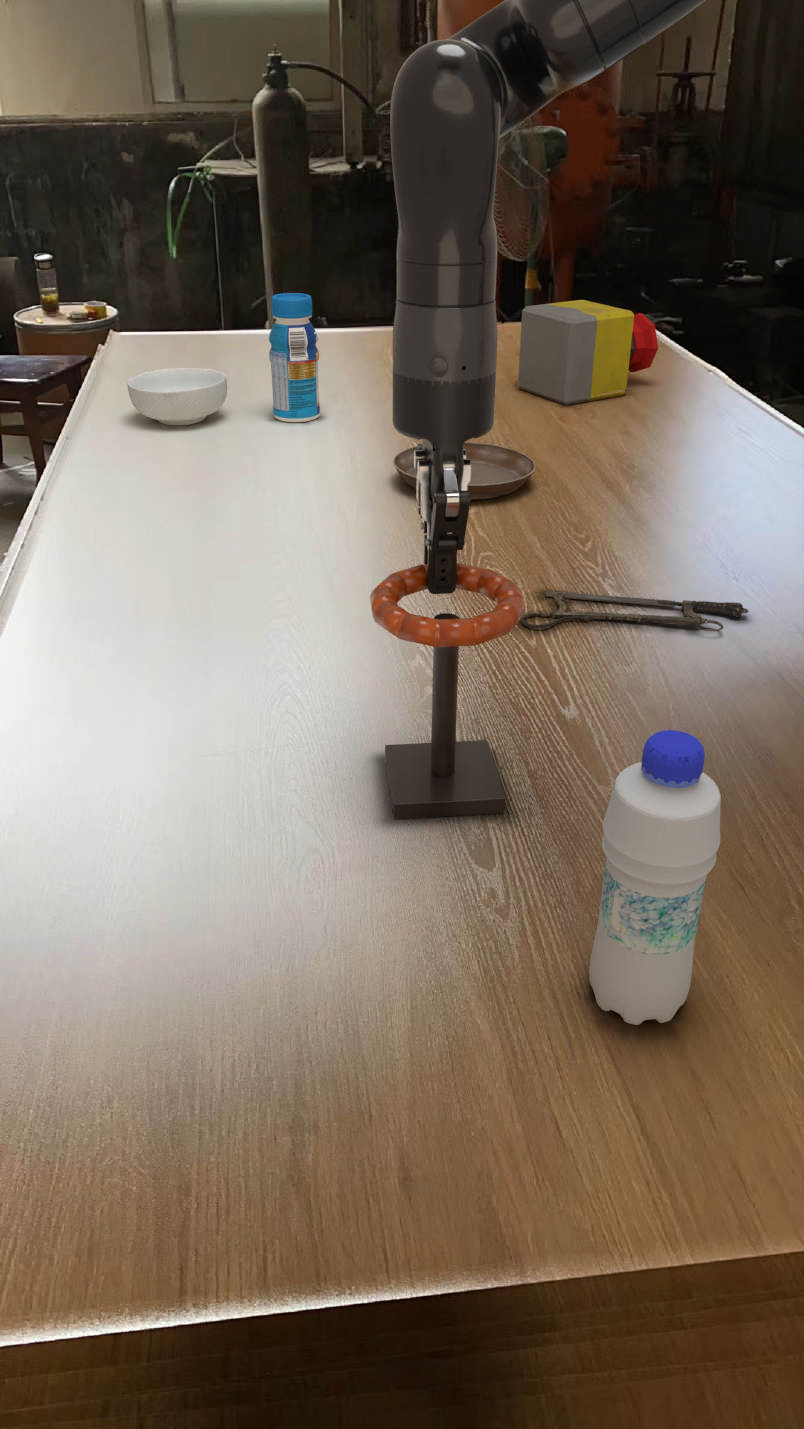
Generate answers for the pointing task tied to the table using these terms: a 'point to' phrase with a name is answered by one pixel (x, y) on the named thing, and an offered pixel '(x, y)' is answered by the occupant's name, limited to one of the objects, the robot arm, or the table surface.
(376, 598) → the ring
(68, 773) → the table surface
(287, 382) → the beverage bottle
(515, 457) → the plant saucer
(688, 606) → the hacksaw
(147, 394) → the cereal bowl
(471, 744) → the stand
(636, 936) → the bottle
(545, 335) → the emergency stop button
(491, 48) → the robot arm
